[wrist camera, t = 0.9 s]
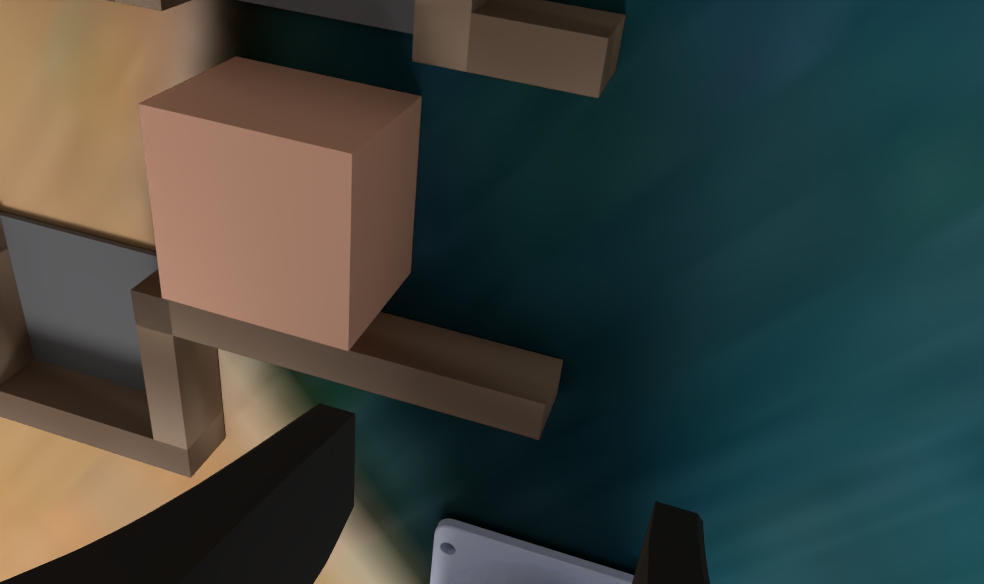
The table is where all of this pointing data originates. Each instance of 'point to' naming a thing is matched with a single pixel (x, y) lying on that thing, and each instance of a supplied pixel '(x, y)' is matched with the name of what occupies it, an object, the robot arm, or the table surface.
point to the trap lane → (198, 333)
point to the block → (282, 196)
